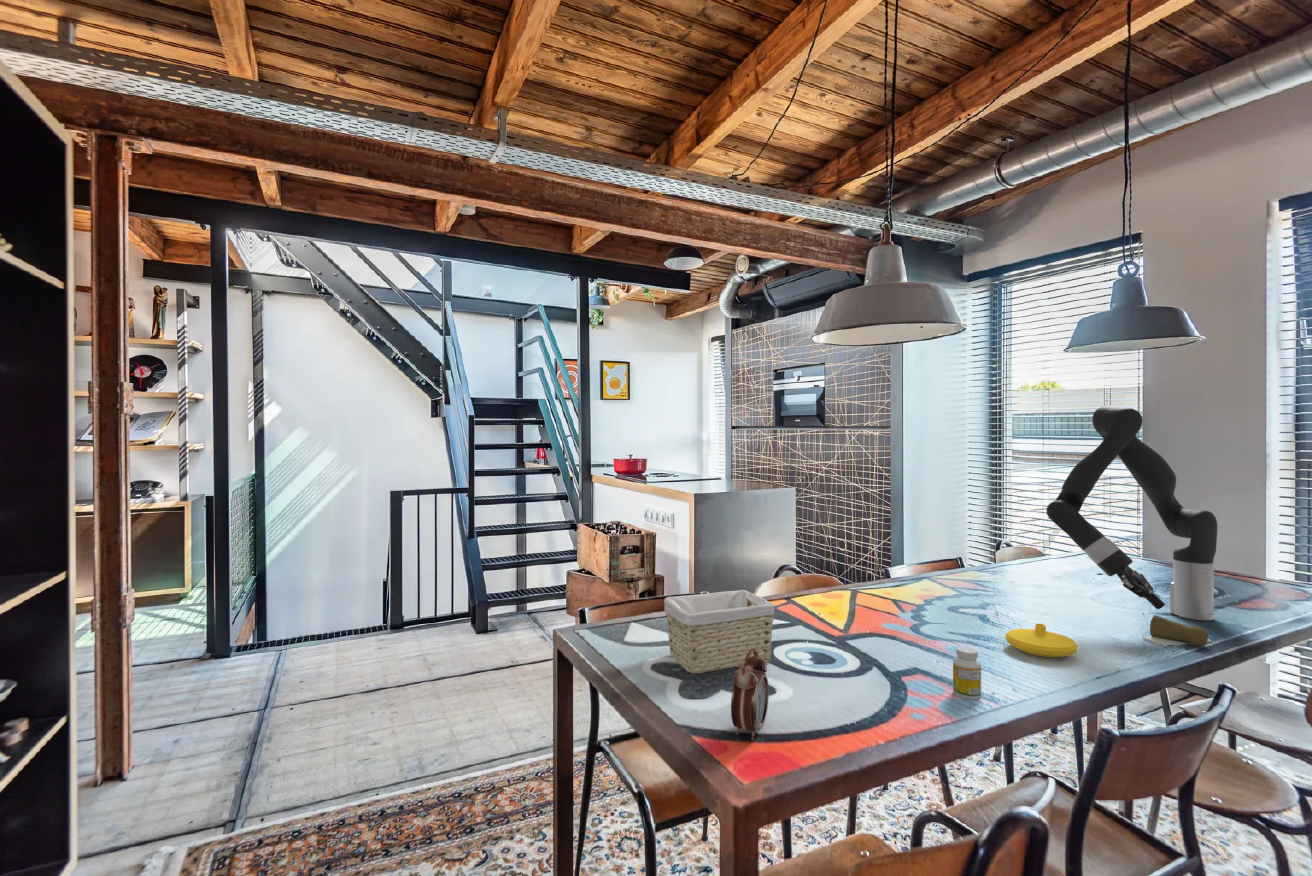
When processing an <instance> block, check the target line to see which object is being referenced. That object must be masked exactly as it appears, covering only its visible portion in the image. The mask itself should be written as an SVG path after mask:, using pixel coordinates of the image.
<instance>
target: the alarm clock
mask: <svg viewBox="0 0 1312 876" xmlns="http://www.w3.org/2000/svg"><path fill="white" fill-rule="evenodd" d="M752 652H754V656H750V654H751V653H752ZM758 655H759V654H758V653H756V650H755V649H751V650H750V651H749V652H748V654H747V656H746V658H745V662H744V665H742V666H740V667H736V669H735V671H734V674H733V681H734V682H733V686H732V691H731V692H732V693H731V700H730V701H731V703H730V714H731V721H732V724H733V726H734V727H735V728H737V729H736V735H737V736H738V735H740V734H739V732H740V730H743V731H746V732H747V731H748V732H751V738H750V740H751V742H752V741H754V740H755V739H754V737H755V734H756V732H760V731H761V730H762V728H763V726H764V724H765V722H766V718H767V712H768V707H769V696H770V693H769V692H770V691H769V689H770V687H769V686H770V685H769V680H768V677H767V674H766V673H767V671H768V668H767V662H765V661H764V660H763V659H762V658H760V657H758ZM749 656H750V657H749Z"/></svg>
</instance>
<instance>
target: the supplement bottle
mask: <svg viewBox="0 0 1312 876" xmlns="http://www.w3.org/2000/svg"><path fill="white" fill-rule="evenodd" d="M978 657H979V655H978V650H977V649H975V648H973V647H967V646H957V647H956V656H955V657H954V658H953V660H952V691H953V692H952V693H954V695H956V696H957V697H959V698H962V699H964V700H971V701H972V700H973V701H974V700H975V701H976V700H979V699H980V698H981V697H982V664H981V662H980V660H978Z"/></svg>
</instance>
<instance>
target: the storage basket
mask: <svg viewBox="0 0 1312 876" xmlns="http://www.w3.org/2000/svg"><path fill="white" fill-rule="evenodd" d="M663 601H664V607H663V609H664V613H665V616H666V621H667V624H666V625H667V631H668V635H667V636H668V642H669V654H670V656H671V658H672V659H674V661H676V662H677V663H678V664H679V665H681V667H682V668H684V669H685V671H686V672H689V674H693V675H695V674H704V673H706V672H713V671H721V670H723V671H724V670H725V669H733V668H738V667H740V666H742V665H744V662H745V658H746V656H747V654H748V652H749V651H750V650H751V649H755V650H756V653H758V654H759V655H758V657H760V658H762V659H763V660H764V661H765V662H766V663H768V662H770V661H771V654H772V637H773V626H774V625H773V623H774V619H775V618H774V614H775V609H774V608H775V606H774V603H773V602H770V601H769V600H766V599H765V598H763V597H761V596H760V595H757V594H756V593H755V594H754V593H753V592H750V591H747V590H745V589H740V590H728V591H727V590H726V591H718V592H717V591H716V592H711V593H710V592H708V593H700V594H688V595H687V594H686V595H678V596H667V597H665V598H664V600H663ZM750 656H754V652H752V653H751V654H750ZM750 656H749V657H750Z"/></svg>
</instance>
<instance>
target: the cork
mask: <svg viewBox="0 0 1312 876" xmlns="http://www.w3.org/2000/svg"><path fill="white" fill-rule="evenodd" d="M1149 633H1150V637H1159V638H1164V639H1170V640H1176V641H1182V642H1188V643H1190V644H1189V645H1192V646H1193V647H1195V648H1196V647H1197V648H1204V647H1206V646H1207V641H1208V639H1209V635H1208V632H1207V630H1206V629H1205V628H1203V627H1200V626H1189V625H1185V624H1182V623H1179V622H1176V621H1174V620H1171V619H1168V618H1165V617H1162V616H1159V615H1156V614H1155V615H1153V616H1152V618H1151V621H1150V624H1149Z"/></svg>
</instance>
